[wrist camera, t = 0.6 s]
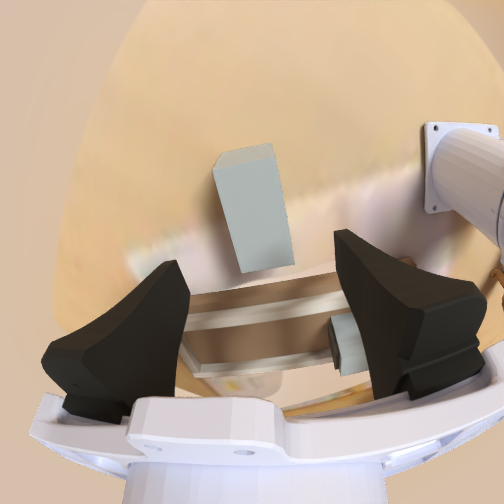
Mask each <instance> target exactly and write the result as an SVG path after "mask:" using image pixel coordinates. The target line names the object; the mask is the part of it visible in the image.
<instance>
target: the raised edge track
mask: <svg viewBox="0 0 504 504" xmlns="http://www.w3.org/2000/svg"><path fill="white" fill-rule="evenodd" d="M397 260H399V261H402V262H404V263H406V264H408V265H410V266H413V267H415V268H416V264H415V263H414V262H413V260H412V259H411V258H410V257H406V258H401V259H397ZM178 353H179V355H180V357H181V358H182V360H183V361H184V363H185V364H186V366H187V367H188V369H189V370H190V372H191V373H192V374H193V376H194V377H195V378H206V377H223V376H236V375H247V374H257V373H266V372H274V371H282V370H289V369H295V368H302V367H308V366H314V365H319V364H324V363H330V362H334V367H335V369H339V371H340V376H345V375H350V374H355V373H359V372H363V371H367V370H369V368H368V363H367V359H366V355H365V350H364V346H363V343H362V339H361V335H360V332H359V329H358V326H357V323H356V321H355V319H354V316H353V314H352V311H351V309H350V307H349V304H348V302H347V300H346V297H345V295H344V293H343V290H342V288H341V285H340V282H339V278H338V275H337V272H332V273H326V274H321V275H316V276H310V277H305V278H299V279H293V280H288V281H282V282H276V283H270V284H264V285H257V286H251V287H245V288H239V289H232V290H225V291H219V292H212V293H205V294H198V295H191V296H190V304H189V312H188V316H187V320H186V324H185V328H184V332H183V336H182V340H181V344H180V348H179V352H178Z"/></svg>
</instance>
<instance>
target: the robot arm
mask: <svg viewBox="0 0 504 504" xmlns="http://www.w3.org/2000/svg"><path fill="white" fill-rule="evenodd" d="M434 126H436V129H435V130H434ZM488 129H489V131H488ZM424 131H425V157H426V178H425V205H424V210H425V212H426V213H428V214H433V213H439V212H445V211H451V210H455V211H456V212H458V213H459V214H460V215H461V216H463V217H464V218H465V219H466V220H468V221H469V222H470V223H471V224H472V225H473V226H475V227H476V228H477V229H478V230H479V231H480V232H481V233H483V234H484V235H485V236H486V237H487V238H488V239H489V240H490V241H491V242H492V243H494V244H495V245H496V246H497V247H498V248H499V249H500V250H501V259H500V262H501V263H502V264H503V265H504V139H503V138H501V137H499V130H498V127H497V126H496V125H490V124H479V123H464V122H426V123H425V125H424ZM434 206H435V208H434V209H433V207H434ZM334 244H335V261H336V271H337V275H338V278H339V282H340V285H341V288H342V290H343V293H344V295H345V297H346V300H347V302H348V304H349V307H350V309H351V311H352V314H353V316H354V319H355V321H356V323H357V326H358V329H359V332H360V335H361V339H362V343H363V346H364V350H365V355H366V359H367V363H368V368H369V373H370V378H371V383H372V388H373V395H374V401H371V402H367V403H363V404H358V405H354V406H350V407H345V408H340V409H335V410H330V411H325V412H319V413H313V414H306V415H299V416H292V417H284V415H283V412H282V410H281V409H280V408H278V407H277V406H276V405H275V404H274V403H272V402H271V401H268V400H265V399H261V398H258V397H254V396H217V397H175V396H174V395H175V377H176V367H177V358H178V352H179V348H180V344H181V340H182V336H183V332H184V328H185V324H186V320H187V316H188V312H189V304H190V294H191V293H190V291H189V289H188V286H187V284H186V282H185V279H184V277H183V275H182V273H181V270H180V268H179V265H178V263H177V261H176V260H171V261H165V262H163V263H162V264H161V265H159V266H158V267H157V268H156V269H155V270H154V271H153V272H152V273H151V274H150V275H148V276H147V277H146V278H145V279H144V280H143V281H142V282H141V283H140V284H139V285H138V286H137V287H136V288H135V289H134V290H132V291H131V292H130V293H129V294H128V295H127V296H126V297H125V298H124V299H122V300H121V301H120V302H119V303H118V304H116V305H115V306H114V307H113V308H111V309H110V310H109V311H107V312H106V313H104V314H103V315H101V316H100V317H98V318H97V319H95V320H94V321H92V322H91V323H89V324H87V325H86V326H84V327H82V328H80V329H79V330H77V331H75V332H73V333H71V334H69V335H67V336H64V337H62V338H60V339H57V340H55V341H52V342H51V343H50V345H49V346H48V348H47V350H46V352H45V354H44V355H43V358H42V359H41V363H42V366H43V369H44V370H45V372H46V373H47V374H48V375H49V377H50V378H51V379H52V380H53V381H54V382H55V383H56V384H57V385H58V386H59V387H61V388H62V389H63V390H64V391H65V392H66V393H67V395H66V397H65V399H64V398H63V397H61V396H58V395H54V394H50V393H45V394H44V396H43V398H42V401H41V403H40V405H39V408H38V410H37V413H36V415H35V418H34V420H33V423H32V425H31V428H30V431H29V435H30V436H31V437H33V438H34V439H36V440H37V441H39V442H40V443H42V444H43V445H45V446H46V447H48V448H49V449H51V450H52V451H54V452H56V453H57V454H59V455H61V456H62V457H64V458H66V459H68V460H71V461H74V462H76V463H79V464H81V465H83V466H86V467H89V468H92V469H94V470H97V471H99V472H102V473H105V474H108V475H111V476H114V477H117V478H120V479H123V480H126V485H125V491H124V497H123V502H122V504H388V496H387V490H386V484H385V478H386V477H389V476H391V475H394V474H397V473H400V472H402V471H405V470H408V469H410V468H413V467H415V466H418V465H420V464H422V463H425V462H427V461H429V460H432V459H434V458H436V457H438V456H440V455H442V454H444V453H446V452H448V451H450V450H452V449H454V448H456V447H458V446H460V445H462V444H463V443H465V442H467V441H469V440H471V439H472V438H474V437H476V436H477V435H479V434H481V433H482V432H484V431H486V430H487V429H489V428H491V427H492V426H494V425H495V424H497V423H498V422H500V421H502V420H503V419H504V339H503V340H501V341H499V342H498V343H496V344H494V345H492V346H490V347H488V348H486V349H485V350H484V351H483V352H482V353H480V351H479V350H478V348H477V347H478V346H479V344H480V342H479V340H478V338H477V337H476V334H477V332H478V330H479V328H480V326H481V323H482V321H483V319H484V316H485V313H486V310H487V301H486V298H485V297H484V295H483V294H482V293H481V292H480V290H479V289H478V288H477V286H476V285H475V284H474V283H473V282H471V281H465V280H459V279H453V278H448V277H444V276H440V275H436V274H433V273H430V272H427V271H424V270H421V269H418V268H415V267H413V266H410V265H408V264H406V263H404V262H402V261H399V260H397V259H395V258H393V257H391V256H389V255H388V254H386V253H384V252H382V251H381V250H379V249H377V248H376V247H374V246H372V245H371V244H369V243H368V242H366V241H365V240H363V239H362V238H360V237H359V236H357V235H356V234H354V233H353V232H351V231H350V230H348V229H343V230H337V231H334Z"/></svg>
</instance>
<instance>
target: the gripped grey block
mask: <svg viewBox="0 0 504 504" xmlns="http://www.w3.org/2000/svg"><path fill="white" fill-rule="evenodd" d="M212 172H213V175H214V179H215V182H216V186H217V190H218V193H219V197H220V200H221V204H222V207H223V211H224V214H225V218H226V221H227V225H228V228H229V232H230V235H231V239H232V242H233V246H234V249H235V253H236V256H237V260H238V263H239V266H240V270H241V273H247V272H253V271H259V270H265V269H271V268H277V267H282V266H288V265H294V264H295V262H294V256H293V249H292V243H291V237H290V231H289V226H288V220H287V214H286V209H285V203H284V198H283V192H282V187H281V181H280V176H279V171H278V166H277V161H276V156H275V153H274V150H273V147H272V144H271V143H267V144H261V145H256V146H251V147H247V148H242V149H237V150H233V151H228V152H224V153H222V154H221V156H220V158H219V159H218V161H217V163H216V164H215V166H214V168H213V170H212Z"/></svg>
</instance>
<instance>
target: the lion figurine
mask: <svg viewBox="0 0 504 504" xmlns="http://www.w3.org/2000/svg"><path fill="white" fill-rule="evenodd" d="M490 276H491V277H492V278H493V277H495V276H497V278H498V280H499V282H500V284H501V285H502V287H503V288H504V268H503V269H502V272H501V270H498V269H493V270H492V271H491V272H490ZM502 307H503V310H504V295H503V297H502Z"/></svg>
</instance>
